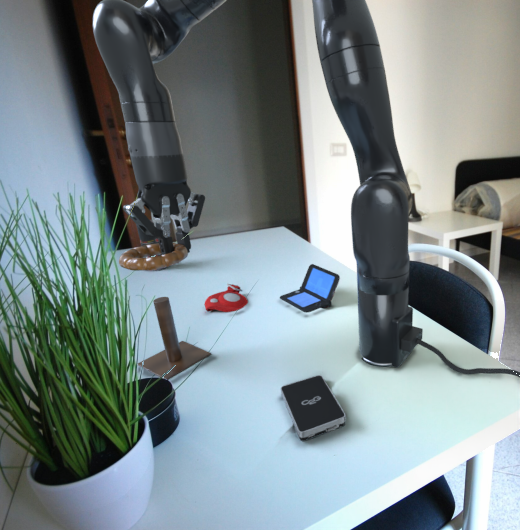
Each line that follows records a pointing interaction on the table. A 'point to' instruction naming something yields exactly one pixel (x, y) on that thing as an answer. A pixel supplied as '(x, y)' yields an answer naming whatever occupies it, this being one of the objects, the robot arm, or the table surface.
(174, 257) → the brown lumpy ring
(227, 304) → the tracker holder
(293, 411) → the external hard drive
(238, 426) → the table surface
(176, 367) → the peg
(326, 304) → the handheld console
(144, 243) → the deodorant
